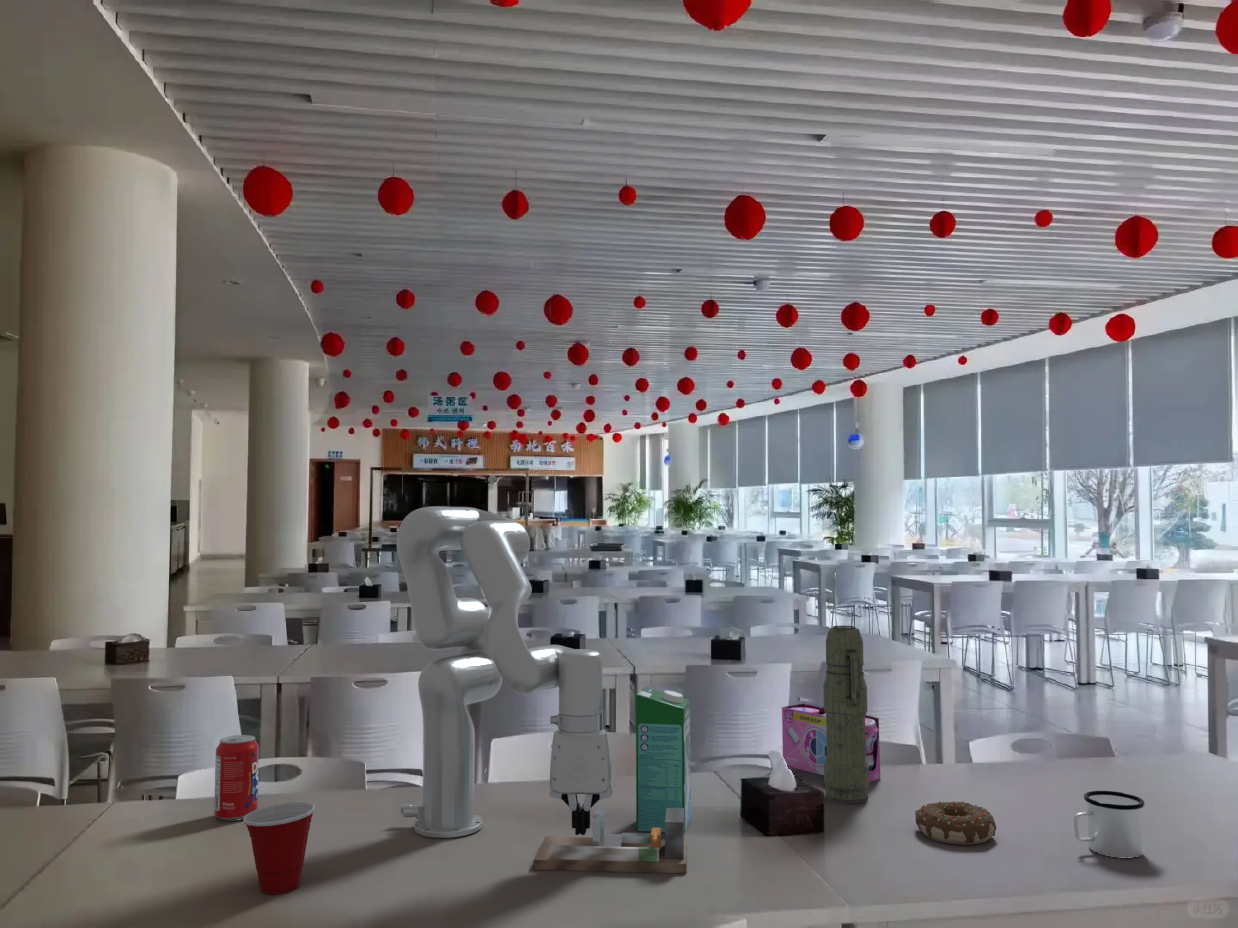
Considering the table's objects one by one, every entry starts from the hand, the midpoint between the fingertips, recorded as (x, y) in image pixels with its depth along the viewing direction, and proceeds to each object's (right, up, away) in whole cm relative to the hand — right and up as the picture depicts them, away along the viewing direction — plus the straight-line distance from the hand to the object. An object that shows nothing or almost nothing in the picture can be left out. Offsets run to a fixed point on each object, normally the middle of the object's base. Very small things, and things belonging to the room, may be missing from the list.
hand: (581, 832), depth 165 cm
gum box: (+55, -8, +56) cm, 79 cm away
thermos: (+53, -7, +36) cm, 65 cm away
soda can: (-68, -6, +23) cm, 72 cm away
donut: (+67, -5, +12) cm, 69 cm away
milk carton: (+15, -6, +18) cm, 24 cm away
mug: (+91, -5, +3) cm, 91 cm away
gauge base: (+5, -4, -1) cm, 7 cm away
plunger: (+7, -2, -1) cm, 8 cm away
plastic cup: (-47, -4, -13) cm, 49 cm away
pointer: (+13, -2, -3) cm, 13 cm away
